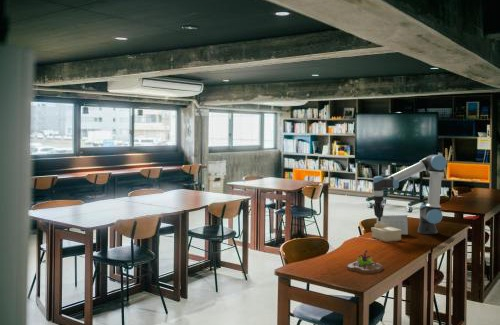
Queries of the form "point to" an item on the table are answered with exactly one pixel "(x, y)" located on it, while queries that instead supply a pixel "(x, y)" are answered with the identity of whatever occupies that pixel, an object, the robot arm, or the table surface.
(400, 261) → the table surface
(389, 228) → the lid
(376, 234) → the mailer base
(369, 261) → the plant
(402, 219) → the skincare box
